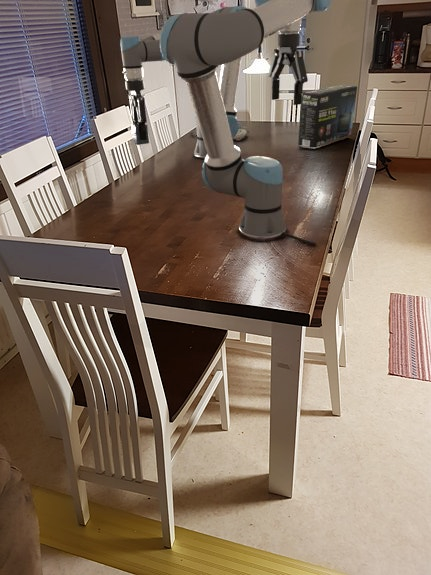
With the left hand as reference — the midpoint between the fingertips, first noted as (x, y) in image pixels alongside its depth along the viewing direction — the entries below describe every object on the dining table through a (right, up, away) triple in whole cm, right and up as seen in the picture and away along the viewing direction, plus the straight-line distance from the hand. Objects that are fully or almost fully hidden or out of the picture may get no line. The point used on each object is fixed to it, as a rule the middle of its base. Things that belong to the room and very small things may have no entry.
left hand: (141, 138), depth 197 cm
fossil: (+42, +21, +64) cm, 80 cm away
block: (0, -2, +1) cm, 2 cm away
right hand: (+57, +1, -36) cm, 67 cm away
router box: (+91, +13, +47) cm, 103 cm away
